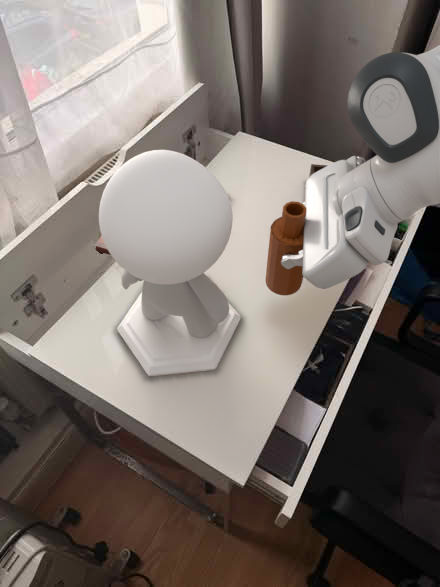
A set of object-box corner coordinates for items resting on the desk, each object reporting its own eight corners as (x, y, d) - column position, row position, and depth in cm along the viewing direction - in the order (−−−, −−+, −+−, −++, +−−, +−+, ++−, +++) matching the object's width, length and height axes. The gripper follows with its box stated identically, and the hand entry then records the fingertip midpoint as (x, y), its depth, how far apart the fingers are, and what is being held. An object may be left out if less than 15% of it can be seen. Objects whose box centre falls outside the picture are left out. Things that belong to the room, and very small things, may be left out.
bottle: (302, 268, 74) (317, 196, 61) (301, 297, 70) (316, 226, 57) (266, 265, 74) (274, 193, 62) (264, 293, 71) (271, 222, 58)
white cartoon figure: (252, 295, 84) (263, 138, 56) (201, 398, 72) (182, 264, 44) (162, 264, 89) (130, 105, 61) (100, 356, 77) (25, 210, 49)
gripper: (351, 136, 61) (275, 186, 70) (358, 243, 49) (266, 287, 58) (375, 164, 64) (300, 209, 73) (387, 272, 52) (295, 309, 61)
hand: (285, 244), depth 65 cm, fingers closed on bottle, 6 cm apart
